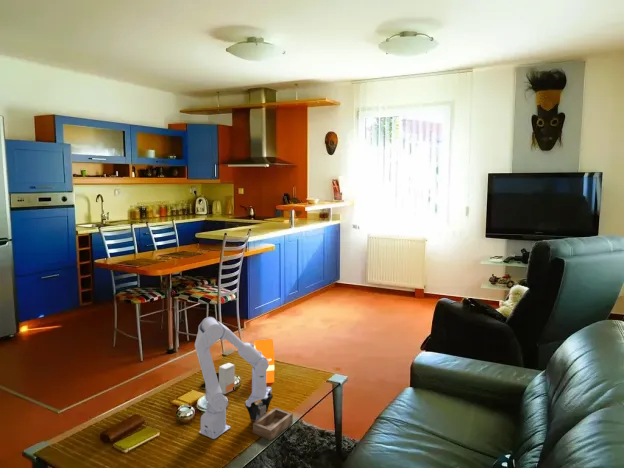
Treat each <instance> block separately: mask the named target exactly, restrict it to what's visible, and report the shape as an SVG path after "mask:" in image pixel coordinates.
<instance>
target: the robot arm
mask: <svg viewBox="0 0 624 468" xmlns="http://www.w3.org/2000/svg"><path fill="white" fill-rule="evenodd" d="M197 330H198V331H197V334H196V339H195V342H194V348H195V351H196V352H195V353H196V355H197V359H198V362H199V367H200V369H201V373H202V377H203V380H204V384H205V386H204V387H205V388H204V389H205V395H204V397H205V400H206V401H207V405H206V410H205V412H203V414H202V415H200V430H199V431H198V433H199V434H201V435H203V436H206V437H208V438H210V439H212V440H216V439H217V438H218V437H220V436H221V435H223V434H224V433H226V432H227V431H228V430H230V429H232V428H231V426H230V425H228V424H227V407H228V403H229V402H228V399H227V398H226V396H225V394H223V393H222V390H221V388H220V386H219V378H218V376H217V375H218V374H217V372H216V369H215V368H216V367H215V364H214V361H213V357H212V353H211V349H210V348H211V347H212V346H213V345H214V344H216V343H217V342H218V341H219V340H220V341H223V340H224V341H225V340H226V341H227V342H229V343H230V344H231V345H233V346H234V347H235V348H236V349H237V351H238V355H239V356H240V357H241V358H242V359H243V360H245V362H247V364H250V366H252V367H251V370H252V371H251V394H250V395H249V397H248V399H247V400H245V402H244V406H245V408H246V409H247V412H248V415H249V418H250V420H251V421H253V422H255V420H256V413H257V409H258V407H259V406H258V405H255V404H256V403H257V402H260V401H263V404H265V405H266V413H268V411H269V408H270V404H271V401H272V399H273V397H274V395H273V394H272V392H273V389H272V387H271V386H267V383H266V370H267V369H268V367H269V363H268V360H267V359H266V358H265V357H264V356H263V355H262V353H261V352H260V351H257V350H256V349H255V348H254V343H250V342H243V341H242V339H240V338H239V337H238V336H237V335H236V334H235V333H234V332H233V331H232V330H231V329H229V327H227V326H226V325H224V323H222V322H220V321H218V320H216V318H215V317H213V316H208V317H205V318H204V319H202V321H201V322H200V324H199V325H198V329H197Z"/></svg>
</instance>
